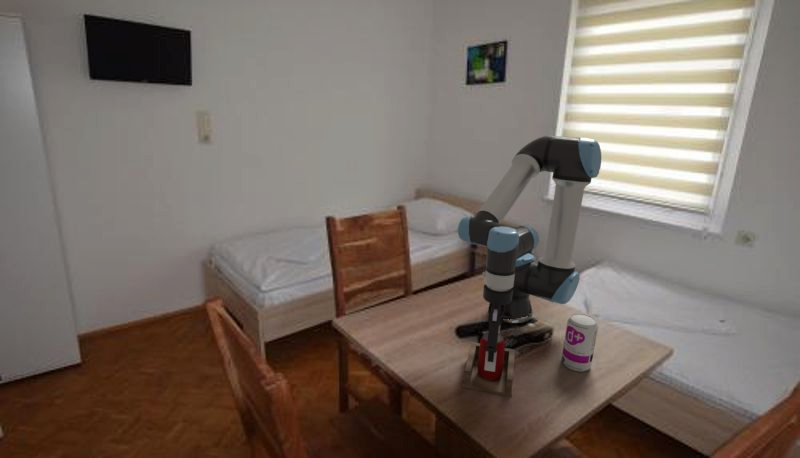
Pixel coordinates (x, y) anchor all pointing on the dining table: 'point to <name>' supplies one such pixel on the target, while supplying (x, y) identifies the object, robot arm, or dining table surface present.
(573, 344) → the supplement can
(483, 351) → the beverage can
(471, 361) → the walnut U-rest
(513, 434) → the dining table surface
